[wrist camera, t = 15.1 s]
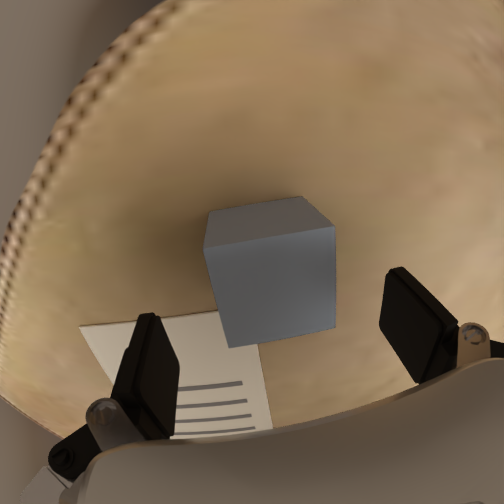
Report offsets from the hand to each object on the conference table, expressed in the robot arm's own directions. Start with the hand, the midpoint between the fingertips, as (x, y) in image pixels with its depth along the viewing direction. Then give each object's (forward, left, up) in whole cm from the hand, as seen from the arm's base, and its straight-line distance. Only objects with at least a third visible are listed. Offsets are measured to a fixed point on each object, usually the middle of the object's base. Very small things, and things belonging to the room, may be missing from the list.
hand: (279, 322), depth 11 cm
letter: (+9, +16, -9) cm, 20 cm away
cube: (0, +1, -9) cm, 9 cm away
